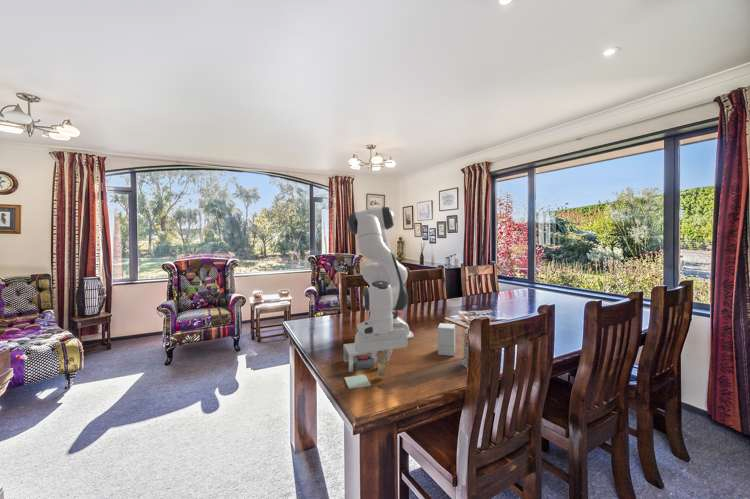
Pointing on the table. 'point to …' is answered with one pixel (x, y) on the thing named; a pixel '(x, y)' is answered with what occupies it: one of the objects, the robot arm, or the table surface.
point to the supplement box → (446, 339)
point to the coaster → (357, 381)
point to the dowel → (382, 363)
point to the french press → (466, 346)
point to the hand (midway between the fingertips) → (381, 361)
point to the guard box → (353, 355)
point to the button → (363, 356)
